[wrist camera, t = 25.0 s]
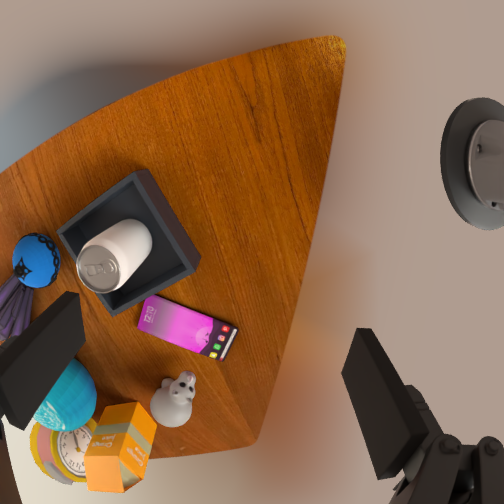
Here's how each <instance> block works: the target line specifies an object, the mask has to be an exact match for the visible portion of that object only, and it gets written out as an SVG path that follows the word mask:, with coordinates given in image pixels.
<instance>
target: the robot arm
mask: <svg viewBox="0 0 504 504" xmlns="http://www.w3.org/2000/svg"><path fill="white" fill-rule="evenodd" d="M464 165H465V174H466V178H467V182H468V185H469V188H470V190H471V192H472V194H473V196H474V197H475V199H476V200H477V201H478V202H479V203H480V204H481V205H483V206H485V207H487V208H490V209H493V210H504V122H502V121H500V120H484V121H482V122H480V123H478V124H477V125H476V126H475V127H474V128H473V130H472V131H471V133H470V135H469V137H468V140H467V143H466V148H465V156H464ZM85 341H86V338H85V332H84V326H83V320H82V313H81V305H80V297H79V293H74V292H69V291H66V292H65V293H63V294H62V295H61V296H60V297H59V298H58V299H57V300H56V301H55V302H54V303H52V304H51V305H50V306H49V307H48V308H47V309H46V310H45V311H44V312H43V313H42V314H41V315H40V316H39V317H37V318H36V319H35V320H34V321H33V322H32V323H31V324H30V325H29V326H28V327H27V328H26V329H25V330H24V331H23V332H22V333H21V334H20V335H19V336H18V335H14V336H12V337H10V338H9V339H7V340H6V341H4V342H3V343H2V344H1V345H0V504H22V501H21V498H20V495H19V492H18V488H17V485H16V481H15V478H14V474H13V470H12V466H11V461H10V457H9V452H8V447H7V443H6V437H5V431H4V425H3V423H2V420H1V418H2V417H3V415H4V414H5V416H6V418H7V420H8V421H9V423H10V424H11V425H13V426H15V427H17V428H19V429H21V430H23V431H24V430H25V428H26V427H27V425H28V423H29V422H30V420H31V418H32V417H33V416H34V414H35V413H36V411H37V410H38V408H39V407H40V405H41V404H42V402H43V401H44V399H45V398H46V396H47V395H48V393H49V392H50V390H51V389H52V387H53V386H54V384H55V383H56V382H57V380H58V379H59V377H60V376H61V374H62V373H63V372H64V370H65V369H66V367H67V366H68V365H69V363H70V362H71V360H72V359H73V358H74V356H75V355H76V354H77V352H78V351H79V349H80V348H81V347H82V345H83V344H84V343H85ZM341 374H342V376H343V379H344V382H345V385H346V388H347V390H348V393H349V396H350V399H351V402H352V405H353V408H354V410H355V413H356V416H357V419H358V422H359V425H360V428H361V431H362V434H363V436H364V439H365V442H366V446H367V448H368V452H369V455H370V458H371V461H372V464H373V467H374V470H375V473H376V476H377V479H378V480H381V479H387V478H392V477H396V475H397V474H398V473H399V472H400V471H401V470H402V468H403V471H404V473H405V476H404V477H403V479H402V480H401V481H400V482H399V483H398V484H397V485H396V486H395V487H394V489H393V490H396V489H397V490H396V492H395V494H394V496H393V497H392V499H391V501H390V503H389V504H504V448H503V445H502V444H501V442H500V441H499V440H497V439H496V438H494V437H490V436H487V437H484V438H482V439H481V440H480V441H479V443H478V444H477V445H462V444H461V442H460V441H459V440H458V439H457V438H456V437H454V436H452V435H449V434H444V433H443V431H442V429H441V428H440V426H439V424H438V422H437V421H436V419H435V417H434V415H433V414H432V412H431V410H429V406H428V405H427V403H425V400H424V398H423V396H422V394H421V393H420V392H419V391H418V390H417V389H416V388H415V387H414V386H412V385H404V384H403V382H402V380H401V379H400V377H399V375H398V373H397V371H396V370H395V368H394V366H393V364H392V363H391V361H390V359H389V358H388V356H387V354H386V353H385V351H384V349H383V347H382V346H381V344H380V342H379V341H378V339H377V337H376V336H375V334H374V332H373V331H372V329H370V328H357V329H356V332H355V335H354V338H353V341H352V344H351V347H350V350H349V353H348V356H347V358H346V361H345V364H344V367H343V370H342V372H341Z"/></svg>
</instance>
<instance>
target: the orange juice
mask: <svg viewBox="0 0 504 504" xmlns="http://www.w3.org/2000/svg"><path fill="white" fill-rule="evenodd" d="M156 427H157V424H156V423H155V422H154V421H153V419H152V418H151V417H150V416H149V414H148V413H147V412H146V411H145V409H144V408H143V407H142V406H141V404H140V403H139V402H138V401H137V402H131V403H125V404H118V405H112V406H106V407H105V409H104V411H103V413H102V416H101V418H100V420H99V422H98V425H97V426H96V428H95V431H94V433H93V436H92V438H91V440H90V443H89V445H88V447H87V450H86V452H85V454H84V456H83V458H84V466H85V473H86V480H87V485H88V490H90V491H100V492H116V493H124V492H125V491H127V490H128V489H129V488H131V487H132V486H134V485H135V484H136V483H138V482H139V481H141V480H143V478H144V474H145V470H146V466H147V462H148V458H149V455H150V451H151V448H152V443H153V439H154V435H155V431H156Z"/></svg>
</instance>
